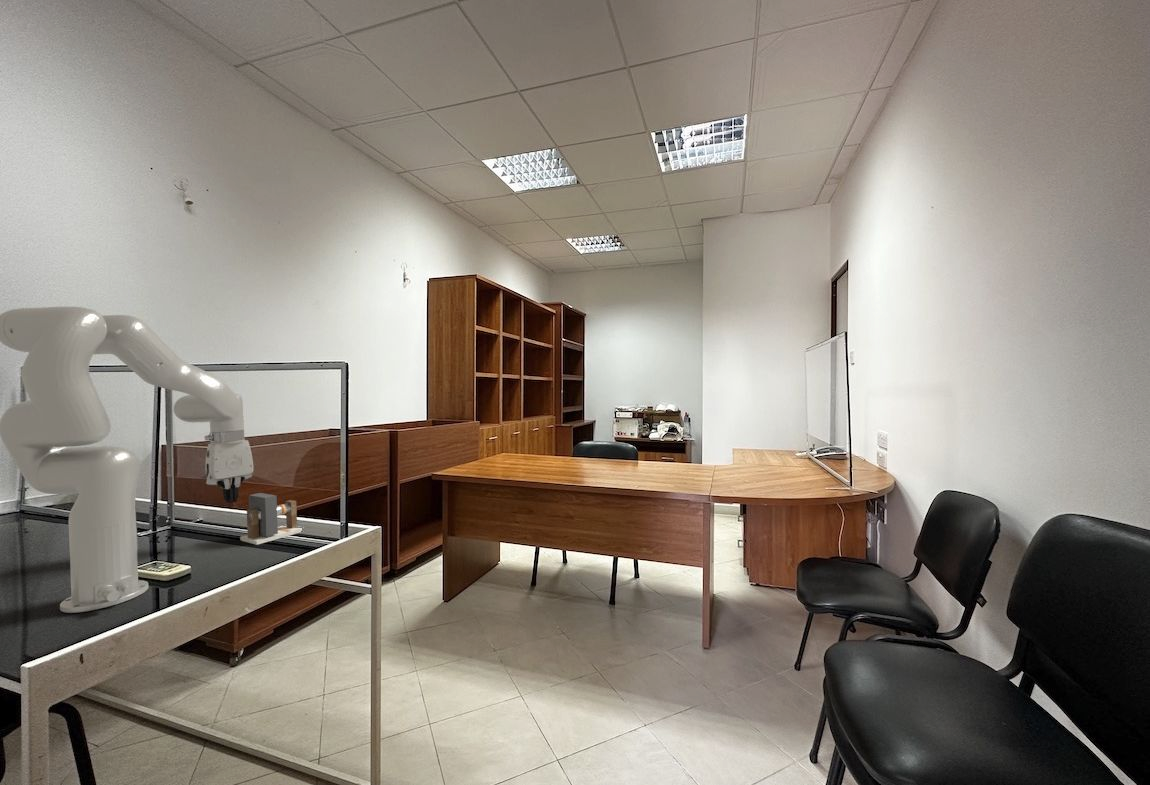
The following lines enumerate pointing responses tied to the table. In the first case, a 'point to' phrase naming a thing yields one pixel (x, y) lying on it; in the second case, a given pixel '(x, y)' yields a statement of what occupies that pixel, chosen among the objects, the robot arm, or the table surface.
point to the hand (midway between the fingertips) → (231, 501)
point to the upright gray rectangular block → (265, 512)
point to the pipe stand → (283, 531)
